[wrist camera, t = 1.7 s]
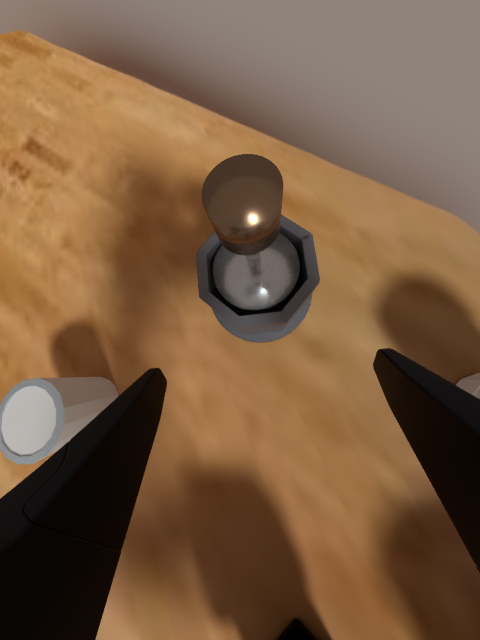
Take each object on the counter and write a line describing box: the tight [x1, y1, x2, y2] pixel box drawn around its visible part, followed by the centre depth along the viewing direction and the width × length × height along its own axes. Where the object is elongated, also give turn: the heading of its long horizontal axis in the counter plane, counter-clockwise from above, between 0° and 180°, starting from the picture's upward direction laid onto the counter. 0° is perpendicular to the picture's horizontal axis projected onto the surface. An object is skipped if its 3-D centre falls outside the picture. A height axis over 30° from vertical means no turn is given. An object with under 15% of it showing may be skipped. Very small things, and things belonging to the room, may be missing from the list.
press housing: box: [197, 215, 320, 343], centre depth 20 cm, size 13×11×8 cm
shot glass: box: [0, 377, 118, 464], centre depth 20 cm, size 7×7×7 cm
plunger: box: [202, 154, 300, 311], centre depth 12 cm, size 7×7×8 cm
